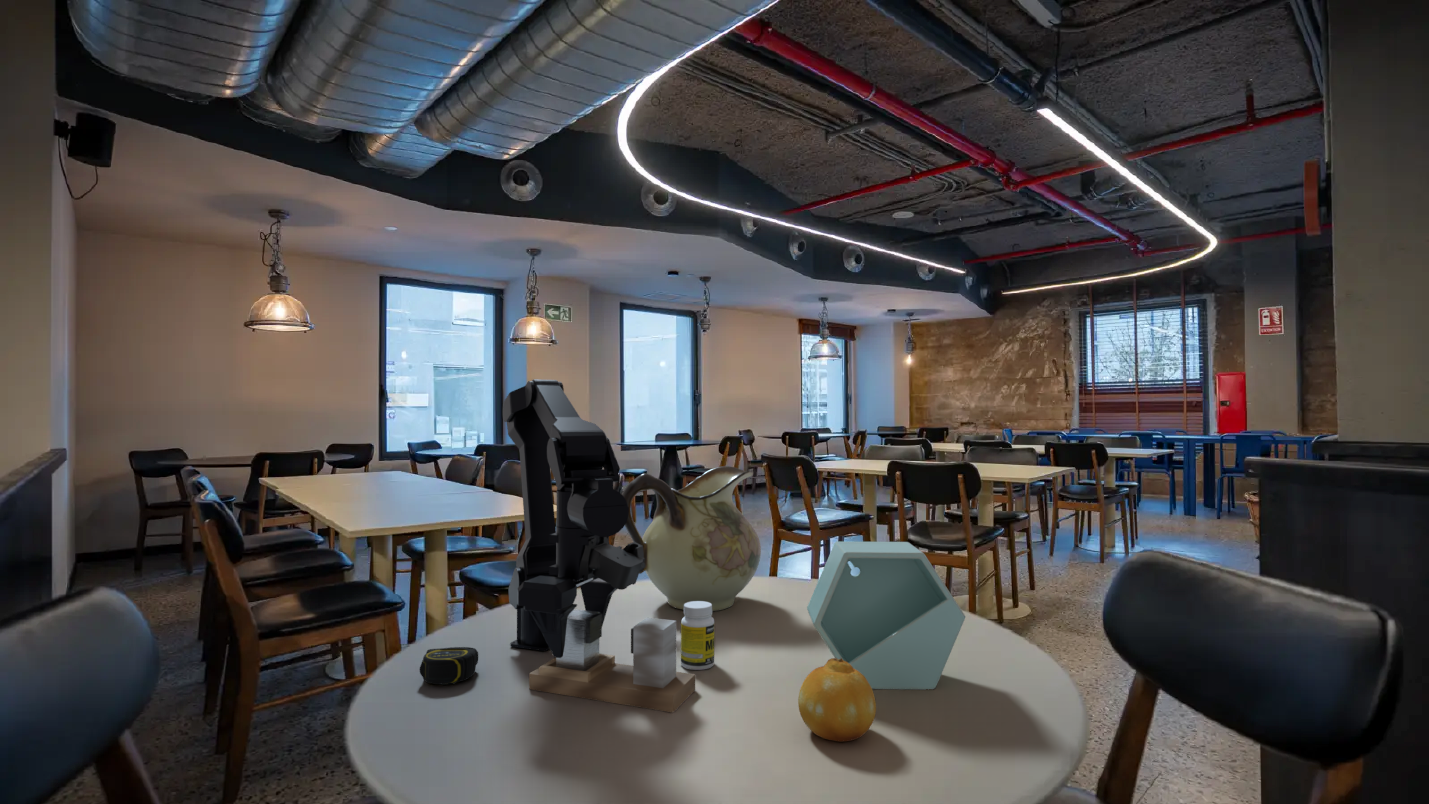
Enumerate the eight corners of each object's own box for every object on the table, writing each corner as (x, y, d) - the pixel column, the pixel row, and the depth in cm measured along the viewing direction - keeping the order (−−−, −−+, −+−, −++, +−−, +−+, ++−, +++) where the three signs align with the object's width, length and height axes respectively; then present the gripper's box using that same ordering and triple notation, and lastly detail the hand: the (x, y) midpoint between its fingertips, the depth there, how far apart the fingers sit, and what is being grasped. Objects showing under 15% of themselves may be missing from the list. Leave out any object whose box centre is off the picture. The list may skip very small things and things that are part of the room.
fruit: (848, 688, 82) (825, 638, 79) (900, 719, 75) (876, 665, 72) (800, 737, 78) (775, 686, 75) (850, 774, 71) (824, 720, 69)
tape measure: (479, 669, 94) (479, 642, 94) (471, 688, 88) (471, 659, 88) (427, 672, 93) (427, 645, 93) (414, 692, 86) (414, 662, 86)
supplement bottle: (710, 672, 93) (710, 610, 93) (677, 669, 94) (677, 608, 94) (717, 660, 98) (717, 600, 98) (685, 657, 99) (685, 599, 99)
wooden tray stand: (529, 689, 87) (529, 618, 87) (559, 670, 94) (560, 604, 94) (673, 712, 80) (673, 635, 80) (695, 690, 87) (695, 619, 87)
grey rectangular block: (587, 677, 86) (588, 621, 86) (556, 672, 87) (556, 617, 88) (603, 666, 90) (603, 612, 90) (572, 661, 91) (573, 609, 91)
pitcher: (777, 595, 133) (777, 467, 133) (730, 629, 111) (730, 476, 112) (675, 583, 142) (675, 463, 143) (613, 613, 121) (614, 471, 121)
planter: (878, 725, 87) (789, 589, 88) (866, 699, 95) (784, 574, 95) (990, 653, 87) (900, 516, 87) (968, 633, 95) (886, 508, 95)
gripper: (597, 541, 78) (596, 680, 77) (664, 518, 95) (664, 631, 95) (514, 535, 81) (513, 667, 81) (594, 514, 99) (593, 622, 99)
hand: (577, 645), depth 89 cm, fingers open, 9 cm apart
